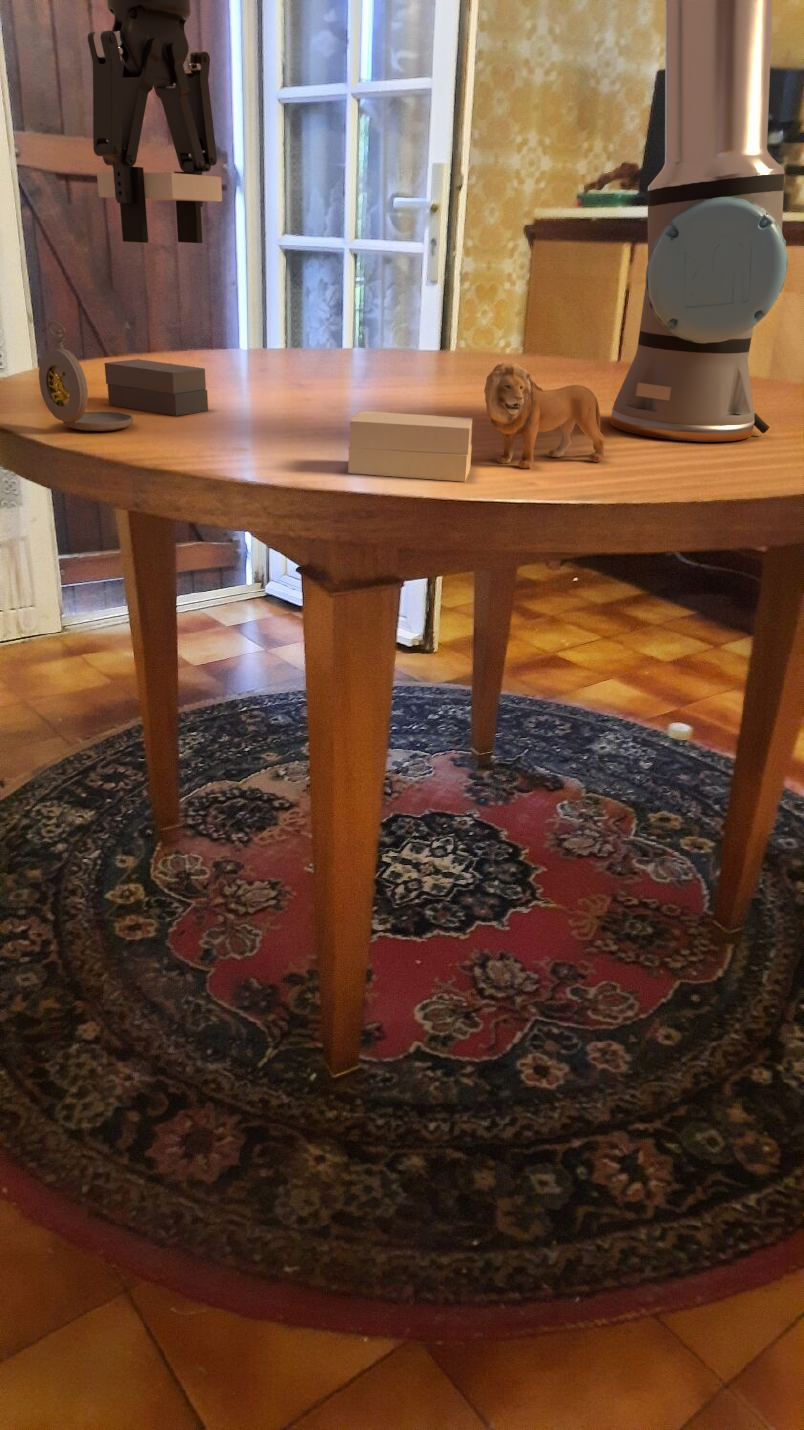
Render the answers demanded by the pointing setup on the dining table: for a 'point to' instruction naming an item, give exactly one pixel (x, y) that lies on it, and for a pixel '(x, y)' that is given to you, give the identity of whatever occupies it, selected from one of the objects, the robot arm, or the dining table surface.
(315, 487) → the dining table surface
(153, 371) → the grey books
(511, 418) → the lion figurine
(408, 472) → the beige cardboard block
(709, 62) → the robot arm
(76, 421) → the pocket watch
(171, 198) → the beige flat block
